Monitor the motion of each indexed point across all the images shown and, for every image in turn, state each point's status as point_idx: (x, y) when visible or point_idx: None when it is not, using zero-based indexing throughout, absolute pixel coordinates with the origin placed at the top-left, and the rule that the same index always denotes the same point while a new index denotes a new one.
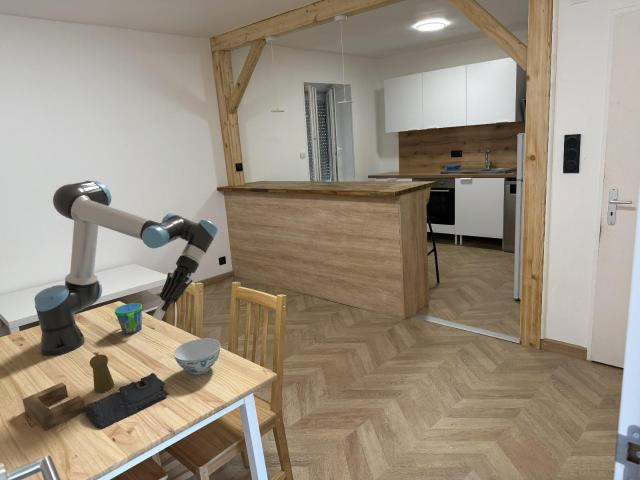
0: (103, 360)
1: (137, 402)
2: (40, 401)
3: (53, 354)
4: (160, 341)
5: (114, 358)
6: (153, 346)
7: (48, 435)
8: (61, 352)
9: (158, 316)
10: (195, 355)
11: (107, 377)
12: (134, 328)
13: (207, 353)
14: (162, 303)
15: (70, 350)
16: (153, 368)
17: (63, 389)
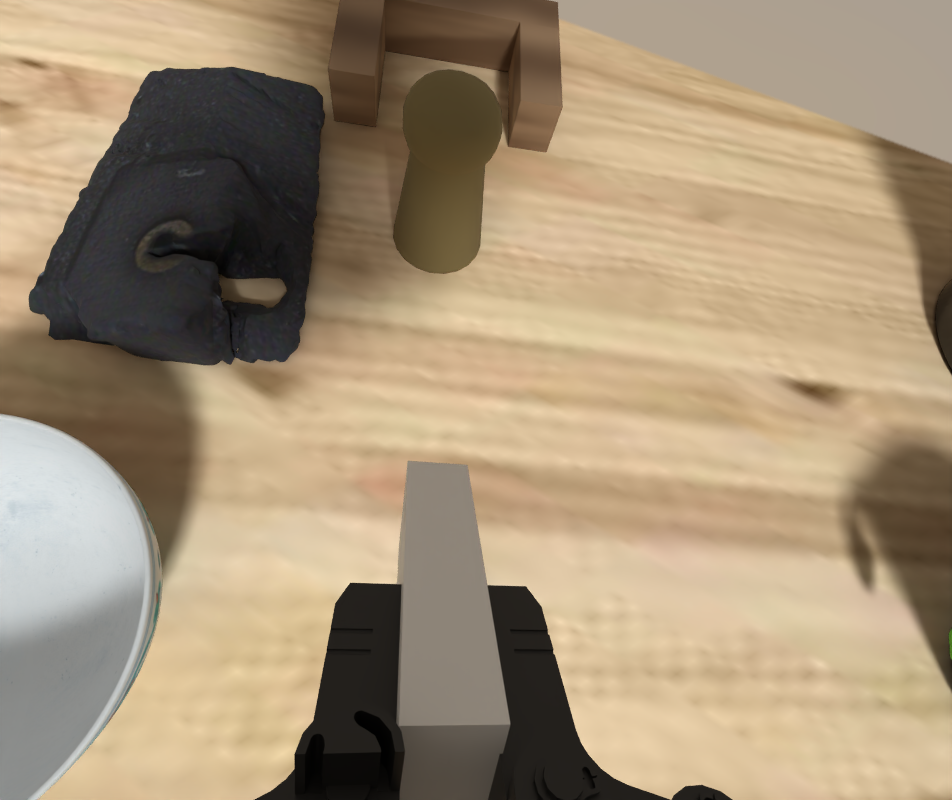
0: (406, 109)
1: (105, 190)
2: (477, 12)
3: (947, 285)
4: (687, 704)
5: (690, 409)
6: (653, 626)
7: (312, 11)
8: (942, 306)
9: (403, 521)
10: (119, 663)
11: (404, 197)
12: (950, 651)
13: (21, 749)
14: (409, 650)
15: (942, 341)
16: (382, 454)
17: (517, 104)
